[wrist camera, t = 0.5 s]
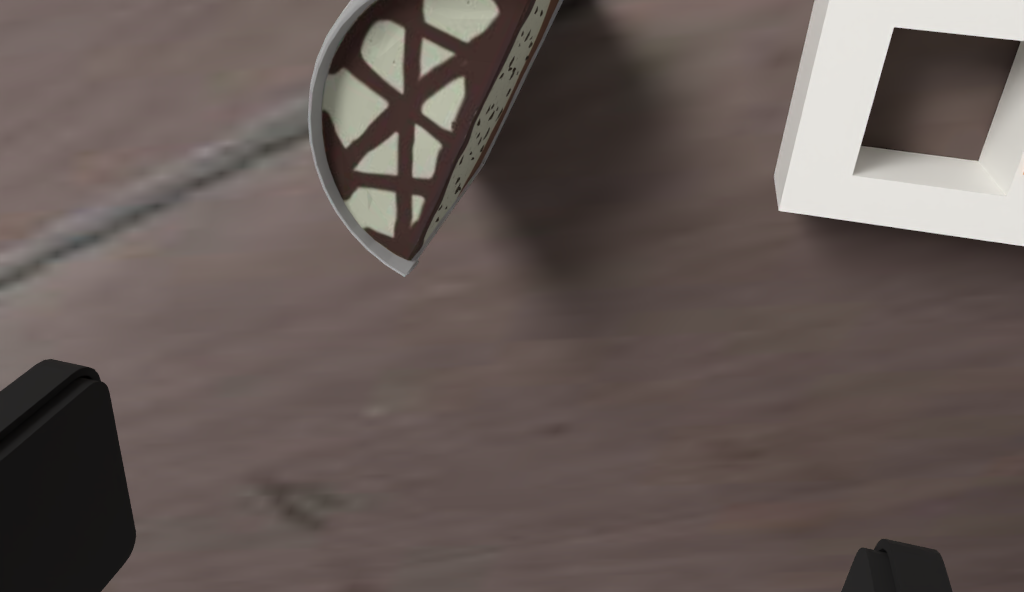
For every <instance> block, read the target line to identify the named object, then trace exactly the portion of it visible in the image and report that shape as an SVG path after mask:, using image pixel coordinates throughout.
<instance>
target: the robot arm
mask: <svg viewBox="0 0 1024 592" xmlns="http://www.w3.org/2000/svg"><path fill="white" fill-rule="evenodd" d="M135 539H136V530H135V525H134V520H133V514H132V509H131V504H130V499H129V493H128V488H127V483H126V477H125V472H124V467H123V462H122V456H121V451H120V446H119V441H118V435H117V430H116V425H115V419H114V414H113V409H112V404H111V398H110V393H109V390H108V387H107V385H106V384H105V383H103V382H101V380H100V377H99V375H98V373H97V372H96V371H95V370H94V369H92V368H89V367H85V366H81V365H76V364H71V363H67V362H62V361H58V360H53V359H49V360H43V361H42V362H40V363H38V364H36V365H35V366H34V367H32V368H31V369H30V370H28V371H27V372H26V373H24V374H23V375H22V376H20V377H19V378H18V379H16V380H15V381H14V382H12V383H11V384H10V385H8V386H7V387H6V388H4V389H3V390H2V391H0V592H101V591H102V590H103V588H104V587H105V586H106V585H107V584H108V583H109V581H110V580H111V579H112V578H113V577H114V575H115V574H116V573H117V572H118V571H119V569H120V568H121V567H122V566H123V565H124V563H125V562H126V561H127V559H128V558H129V556H130V554H131V552H132V550H133V547H134V544H135ZM841 592H952V588H951V585H950V582H949V578H948V575H947V572H946V568H945V565H944V562H943V559H942V557H941V555H940V553H939V552H938V551H937V550H934V549H929V548H925V547H920V546H915V545H911V544H906V543H902V542H897V541H892V540H888V539H881V540H880V541H879V542H878V543H877V545H876V547H875V549H874V550H871V549H867V548H860V549H859V550H858V552H857V554H856V556H855V559H854V561H853V564H852V566H851V569H850V571H849V574H848V576H847V579H846V581H845V584H844V586H843V589H842V591H841Z"/></svg>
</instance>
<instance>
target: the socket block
mask: <svg viewBox="0 0 1024 592" xmlns="http://www.w3.org/2000/svg"><path fill="white" fill-rule="evenodd" d="M894 27H897V28H907V29H916V30H925V31H935V32H944V33H953V34H962V35H972V36H981V37H990V38H1000V39H1009V40H1018V41H1021V42H1020V45H1019V48H1018V51H1017V53H1016V56H1015V59H1014V62H1013V65H1012V68H1011V70H1010V73H1009V76H1008V79H1007V82H1006V84H1005V87H1004V90H1003V93H1002V96H1001V99H1000V101H999V104H998V107H997V110H996V113H995V115H994V118H993V121H992V124H991V127H990V130H989V132H988V135H987V138H986V141H985V144H984V146H983V149H982V152H981V155H980V158H979V161H974V160H966V159H958V158H951V157H943V156H935V155H928V154H920V153H912V152H905V151H897V150H889V149H882V148H874V147H866V146H861V143H862V139H863V136H864V132H865V129H866V125H867V121H868V118H869V114H870V111H871V107H872V104H873V100H874V96H875V93H876V89H877V86H878V82H879V79H880V75H881V72H882V68H883V64H884V61H885V57H886V54H887V50H888V47H889V43H890V39H891V36H892V32H893V29H894ZM774 181H775V188H776V195H777V202H778V209H779V211H784V212H791V213H798V214H805V215H812V216H819V217H826V218H832V219H839V220H846V221H853V222H860V223H867V224H874V225H881V226H888V227H895V228H902V229H908V230H915V231H922V232H929V233H936V234H943V235H950V236H957V237H964V238H971V239H978V240H984V241H991V242H998V243H1005V244H1012V245H1019V246H1024V0H815V1H814V5H813V9H812V14H811V18H810V22H809V27H808V31H807V35H806V40H805V44H804V48H803V53H802V57H801V61H800V65H799V70H798V74H797V78H796V83H795V87H794V91H793V96H792V100H791V104H790V109H789V113H788V117H787V121H786V126H785V130H784V134H783V139H782V143H781V147H780V152H779V156H778V160H777V165H776V169H775V173H774Z"/></svg>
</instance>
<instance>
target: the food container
mask: <svg viewBox="0 0 1024 592" xmlns="http://www.w3.org/2000/svg"><path fill="white" fill-rule="evenodd" d="M562 2H563V0H351V1H350V2H349V3H348V5H347V6H346V8H345V9H344V10H343V12H342V13H341V15H340V16H339V18H338V19H337V21H336V22H335V24H334V25H333V27H332V28H331V30H330V31H329V33H328V34H327V36H326V39H325V41H324V43H323V46H322V48H321V50H320V52H319V55H318V57H317V60H316V64H315V68H314V72H313V76H312V80H311V84H310V95H309V107H308V125H309V139H310V146H311V150H312V155H313V159H314V164H315V168H316V170H317V173H318V176H319V178H320V181H321V184H322V186H323V189H324V191H325V193H326V195H327V197H328V199H329V201H330V202H331V204H332V206H333V208H334V210H335V212H336V213H337V215H338V216H339V217H340V219H341V220H342V221H343V223H344V224H345V226H346V227H347V228H348V230H349V231H350V232H351V233H352V235H353V236H354V237H355V238H356V239H357V240H358V241H359V242H360V243H361V244H362V245H363V246H364V247H365V248H366V249H367V250H368V251H369V252H370V253H371V254H373V255H374V256H375V257H376V258H378V259H379V260H380V261H381V262H382V263H384V264H385V265H386V266H388V267H389V268H391V269H393V270H394V271H396V272H397V273H399V274H401V275H402V276H404V277H405V276H406V275H408V274H409V273H410V272H411V271H412V270H413V269H414V268H415V266H416V265H417V264H418V262H419V261H418V258H419V257H420V255H421V254H422V253H423V251H424V250H425V248H426V247H427V245H428V244H429V243H430V241H431V240H432V238H433V237H434V236H435V234H436V233H437V231H438V230H439V228H440V227H441V226H442V224H443V223H444V221H445V220H446V219H447V217H448V216H449V214H450V213H451V211H452V210H453V209H454V207H455V206H456V204H457V203H458V202H459V200H460V199H461V197H462V196H463V194H464V193H465V192H466V190H467V189H468V187H469V186H470V185H471V183H472V182H473V180H474V179H475V177H476V176H477V175H478V173H479V172H480V170H481V169H482V168H483V166H484V164H485V162H486V160H487V158H488V156H489V154H490V152H491V149H492V147H493V145H494V143H495V141H496V139H497V137H498V135H499V133H500V131H501V129H502V127H503V125H504V122H505V120H506V118H507V116H508V114H509V112H510V110H511V108H512V106H513V104H514V102H515V100H516V98H517V95H518V93H519V91H520V89H521V87H522V85H523V83H524V81H525V79H526V77H527V75H528V73H529V71H530V69H531V66H532V64H533V62H534V60H535V58H536V56H537V54H538V52H539V50H540V48H541V46H542V44H543V42H544V39H545V37H546V35H547V33H548V31H549V29H550V27H551V25H552V23H553V21H554V19H555V17H556V15H557V12H558V10H559V8H560V6H561V4H562Z"/></svg>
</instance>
